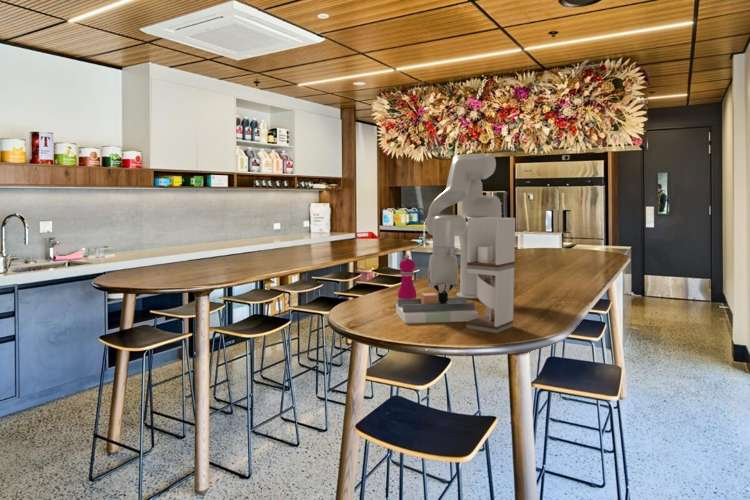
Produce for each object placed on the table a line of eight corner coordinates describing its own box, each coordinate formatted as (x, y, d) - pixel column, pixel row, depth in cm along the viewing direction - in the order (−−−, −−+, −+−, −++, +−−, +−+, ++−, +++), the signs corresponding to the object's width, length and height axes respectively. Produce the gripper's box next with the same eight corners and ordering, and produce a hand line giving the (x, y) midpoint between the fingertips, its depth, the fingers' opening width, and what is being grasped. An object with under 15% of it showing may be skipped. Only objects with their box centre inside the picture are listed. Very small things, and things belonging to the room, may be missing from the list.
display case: (483, 321, 178) (485, 217, 175) (513, 326, 171) (515, 218, 168) (466, 328, 169) (467, 218, 166) (496, 333, 163) (499, 219, 159)
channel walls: (465, 303, 193) (465, 297, 193) (474, 310, 182) (475, 303, 182) (397, 305, 190) (397, 298, 190) (403, 312, 179) (403, 305, 179)
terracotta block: (434, 306, 188) (434, 292, 188) (438, 309, 183) (438, 295, 183) (420, 307, 188) (421, 293, 187) (424, 310, 183) (424, 295, 182)
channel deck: (462, 310, 197) (462, 302, 197) (477, 321, 179) (478, 312, 179) (395, 312, 194) (396, 304, 194) (404, 323, 176) (405, 314, 176)
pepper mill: (409, 308, 199) (409, 256, 198) (393, 306, 204) (394, 254, 202) (420, 305, 205) (420, 254, 203) (404, 303, 210) (404, 253, 208)
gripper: (461, 250, 189) (460, 301, 191) (420, 250, 187) (419, 302, 189) (467, 252, 182) (466, 305, 183) (424, 252, 180) (424, 306, 181)
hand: (442, 303), depth 186 cm, fingers closed
